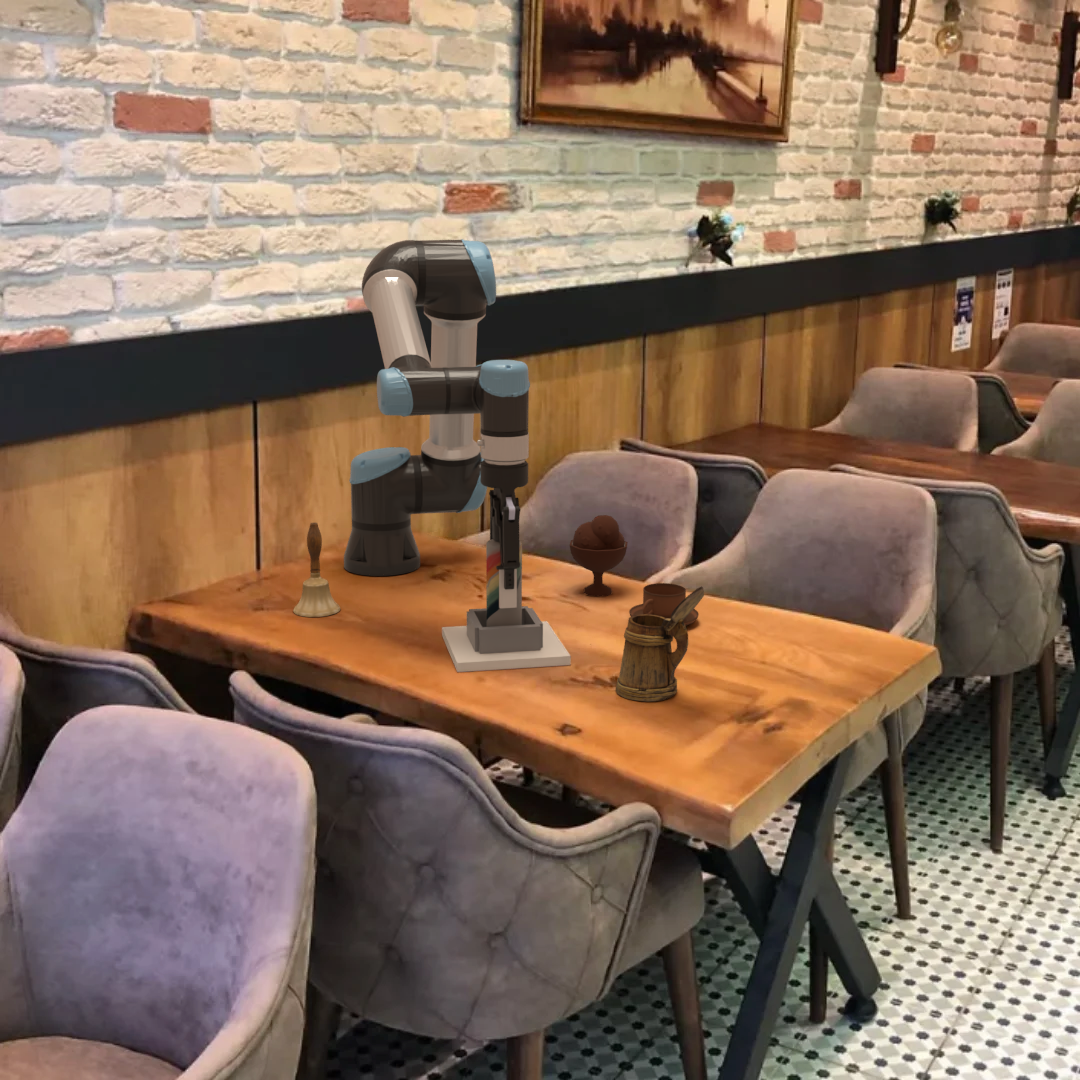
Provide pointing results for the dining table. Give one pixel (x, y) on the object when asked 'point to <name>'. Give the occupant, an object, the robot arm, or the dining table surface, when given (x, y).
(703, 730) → the dining table surface
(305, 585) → the hand bell
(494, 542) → the lotion bottle
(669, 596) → the cup and saucer
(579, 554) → the ice cream bowl
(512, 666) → the bottle holder
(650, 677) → the wooden mug
